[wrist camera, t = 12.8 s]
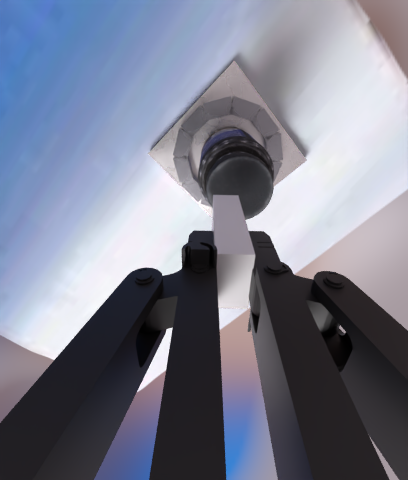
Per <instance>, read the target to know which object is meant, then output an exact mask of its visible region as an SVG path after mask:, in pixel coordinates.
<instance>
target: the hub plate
mask: <svg viewBox="0 0 408 480" xmlns="http://www.w3.org/2000/svg"><path fill="white" fill-rule="evenodd" d="M229 127H231V128H239V129H242V130H244V131H245V132H247V133H248V134H250V135H251V136H252V137H253V138H254V139H255V140H256V141H257V142H258V143H259V144H261V145H262V146H263V147H264V149H266V151H267V152H268V154H269V155H270V157H271V159H272V162H273V166H274V181H273V187H274V186H275V185H276V184H278V183H279V182H280V181H281V180H283V179H284V178H285V177H286V176H288V175H289V174H290V173H291V172H293V171H294V170H295V169H296V168H298V167H299V166H300V165H301V164H303V163H304V162H305V161H306V158H305V157H304V156H303V154H302V153H301V151H300V150H299V149H298V147H297V146H296V145H295V143H294V142H293V140H292V139H291V138H290V136H289V135H288V133H287V132H286V131H285V129H284V128H283V127H282V125H281V124H280V122H279V121H278V120H277V118H276V117H275V116H274V114H273V113H272V111H271V110H270V109H269V107H268V106H267V104H266V103H265V102H264V100H263V99H262V98H261V96H260V95H259V93H258V92H257V91H256V89H255V88H254V87H253V85H252V84H251V82H250V81H249V80H248V78H247V77H246V75H245V74H244V73H243V71H242V70H241V69H240V67H239V66H238V64H237V63H236V62H235V60H234V61H233V62H232V63H231V65H230V66H229V67H228V68H227V69H226V70H225V71H224V72H223V73H222V74H221V75H220V76H219V78H218V79H217V80H216V81H215V82H214V83H213V84H212V85H211V86H210V87H209V88H208V89H207V90H206V92H205V93H204V94H203V95H202V96H201V97H200V98H199V99H198V100H197V101H196V102H195V103H194V104H193V106H192V107H191V108H190V109H189V110H188V111H187V112H186V113H185V114H184V115H183V116H182V117H181V119H180V120H179V121H178V122H177V123H176V124H175V125H174V126H173V127H172V128H171V129H170V130H169V131H168V133H167V134H166V135H165V136H164V137H163V138H162V139H161V140H160V141H159V142H158V143H157V144H156V146H155V147H154V148H153V149H152V150H151V151H150V152H149V153H148V154H149V155H150V156H151V157H152V158H153V159H154V160H155V161H156V162H157V163H158V164H159V165H160V166H161V167H162V168H163V169H164V170H165V171H166V172H167V173H168V174H169V175H170V176H171V177H172V178H173V179H174V180H175V181H176V182H177V183H178V184H179V185H180V186H181V187H182V188H183V189H184V191H185V192H186V193H187V194H188V195H189V196H190V197H191V198H192V199H193V200H194V201H195V202H196V203H197V204H198V205H199V206H200V207H201V208H202V209H203V210H204V211H205V212H206V213H207V214H208V215H209V216H210V217H211V218H212V213H213V208H212V207H211V205H210V204H209V203H208V202H207V200H205V198H204V196H203V194H202V192H201V190H200V187H199V184H198V171H199V165H200V158H201V151H202V148H203V146H204V144H205V142H206V140H207V139H208V138H209V137H210V136H211V135H212V134H213V133H215V132H217V131H219V130H221V129H224V128H229Z"/></svg>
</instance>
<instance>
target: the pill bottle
mask: <svg viewBox="0 0 408 480" xmlns="http://www.w3.org/2000/svg"><path fill="white" fill-rule="evenodd" d="M273 181H274V166H273V162H272V159H271V157H270V155H269V154H268V152H267V151H266V149H264V147H263V146H262V145H261V144H259V143H258V142H257V141H256V140H255V139H254V138H253V137H252V136H251V135H250V134H248V133H247V132H245V131H244V130H242V129H239V128H231V127H229V128H224V129H221V130H219V131H217V132H215V133H213V134H212V135H211V136H210V137H209V138H208V139H207V140H206V142H205V144H204V146H203V148H202V151H201V158H200V165H199V171H198V184H199V187H200V190H201V192H202V194H203V196H204V198H205V200H207V202H208V203H209V204H210V205H211V207H212V208H213V195H238V196H239V200H240V203H241V207H242V210H243V214H244V217H245V220H246V219H250V218H253V217H254V216H256V215H258V214H259V213H260V212H262V211H263V210H264V209H265V207H266V206H267V205H268V203H269V202H270V200H271V197H272V194H273Z"/></svg>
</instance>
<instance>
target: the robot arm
mask: <svg viewBox="0 0 408 480" xmlns="http://www.w3.org/2000/svg"><path fill="white" fill-rule="evenodd" d="M249 301H250V306H251V311H250V318H249V324H248V332H249V331H250V330H251V329H252V335H253V340H254V346H255V352H256V358H257V363H258V369H259V375H260V380H261V386H262V392H263V397H264V403H265V409H266V414H267V420H268V426H269V431H270V437H271V443H272V448H273V454H274V460H275V466H276V470H277V477H278V480H389V478H388V476H387V474H386V471H385V469H384V467H383V465H382V463H381V461H380V459H379V457H378V454H377V452H376V450H375V448H374V446H373V444H372V442H371V439H372V440H373V441H374V443H375V445H376V446H377V448H378V449H379V450H380V452H381V453H382V455H383V456H384V458H385V459H386V461H387V462H388V464H389V465H390V467H391V468H392V469H393V471H394V473H395V474H396V476H397V477H398V479H399V480H408V331H407V330H406V329H405V328H404V327H403V326H402V325H401V324H399V323H398V322H397V321H396V320H395V319H394V318H393V317H391V316H390V315H389V314H388V313H387V312H386V311H385V310H384V309H382V308H381V307H380V306H379V305H378V304H377V303H375V302H374V301H373V300H372V299H371V298H370V297H368V296H367V295H366V294H365V293H364V292H363V291H362V290H361V289H360V288H358V287H357V286H356V285H355V284H354V283H353V282H351V281H350V280H349V279H348V278H346V277H345V276H343V275H340V274H338V273H336V272H330V271H321V272H318V273H317V274H316V275H315V276H314V279H313V280H312V279H308V278H303V277H299V276H296V275H294V274H293V272H292V270H291V269H290V268H289V266H288V265H286V264H284V263H283V262H280V259H279V257H278V255H277V252H276V250H275V248H274V245H273V243H272V241H271V238H270V236H268V235H267V234H266V233H265V232H262V231H248V228H247V224H246V221H245V217H244V214H243V210H242V207H241V203H240V200H239V196H238V195H213V213H212V231H193V232H192V233H191V234H190V235H189V240H188V243H187V244H185V245H184V246H183V248H182V269H181V270H180V271H178V272H176V273H174V274H170V275H165V276H162V273H161V272H160V271H158V270H157V269H153V268H141V269H137V270H135V271H132V272H131V273H130V274H129V275H128V276H127V277H126V278H125V279H124V280H123V281H122V282H121V284H120V285H119V286H118V287H117V288H116V289H115V291H114V292H113V293H112V294H111V295H110V296H109V298H108V299H107V300H106V301H105V302H104V303H103V305H102V306H101V307H100V308H99V309H98V310H97V311H96V313H95V314H94V315H93V316H92V317H91V318H90V320H89V321H88V322H87V323H86V324H85V325H84V327H83V328H82V329H81V330H80V331H79V332H78V334H77V335H76V336H75V337H74V338H73V339H72V340H71V342H70V343H69V344H68V345H67V346H66V347H65V349H64V350H63V351H62V352H61V353H60V354H59V356H58V357H57V358H56V359H55V360H54V361H53V363H52V364H51V365H50V366H49V367H48V369H46V371H45V372H44V373H43V374H42V375H41V377H40V378H39V379H38V380H37V381H36V382H35V383H34V385H33V386H32V387H31V388H30V389H29V390H28V392H27V393H26V394H25V395H24V396H23V397H22V398H21V400H20V401H19V402H18V403H17V404H16V405H15V407H14V408H13V409H12V410H11V411H10V412H9V414H8V415H7V416H6V417H5V418H4V419H3V421H2V422H1V423H0V480H94V478H95V476H96V474H97V472H98V470H99V468H100V466H101V464H102V462H103V460H104V458H105V455H106V454H107V451H108V449H109V448H110V445H111V443H112V441H113V439H114V437H115V435H116V433H117V431H118V429H119V427H120V425H121V423H122V421H123V419H124V417H125V415H126V413H127V410H128V409H129V407H130V405H131V403H132V401H133V398H134V396H135V394H136V392H137V390H138V388H139V386H140V384H141V382H142V380H143V378H144V376H145V374H146V372H147V370H148V368H149V366H150V364H151V362H152V360H153V358H154V356H155V354H156V351H157V349H158V347H159V345H160V343H161V341H162V339H163V337H164V335H165V333H166V329H168V328H172V327H173V330H172V337H171V343H170V349H169V356H168V362H167V369H166V375H165V381H164V388H163V394H162V401H161V408H160V414H159V420H158V426H157V433H156V440H155V446H154V452H153V459H152V465H151V472H150V478H149V480H226V464H225V442H224V420H223V398H222V376H221V354H220V332H219V309H218V308H232V309H248V305H249ZM340 325H341V327H342V328H343V329H344V330H345V331H346V333H345V334H344V333H343V332H342V331H341V330H340V329H339V326H340ZM368 434H369V435H368ZM369 436H370V437H371V439H370V437H369Z"/></svg>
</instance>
